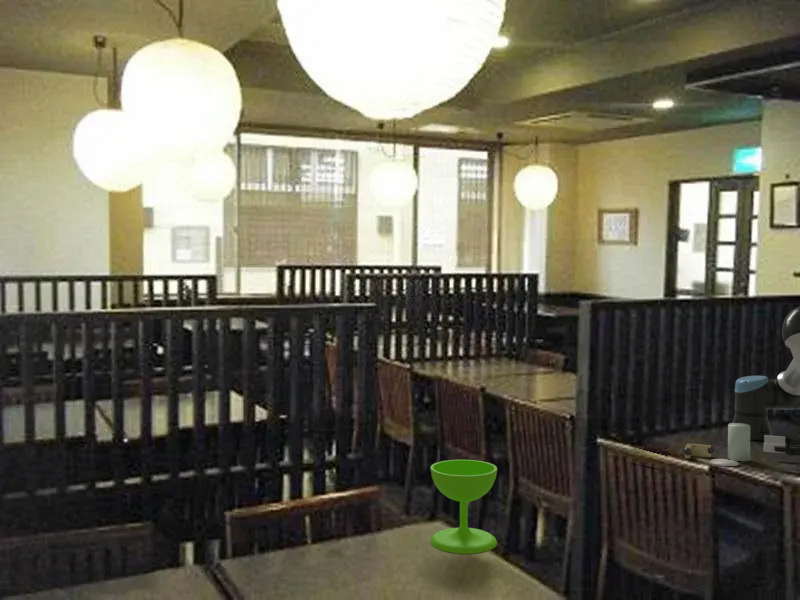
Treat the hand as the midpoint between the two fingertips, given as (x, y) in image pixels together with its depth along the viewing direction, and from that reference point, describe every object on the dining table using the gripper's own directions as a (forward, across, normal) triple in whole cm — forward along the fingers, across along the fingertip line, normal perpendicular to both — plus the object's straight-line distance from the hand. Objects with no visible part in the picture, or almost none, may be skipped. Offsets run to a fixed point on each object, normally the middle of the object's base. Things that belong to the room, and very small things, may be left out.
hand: (763, 443), depth 265 cm
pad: (+12, -8, -6) cm, 15 cm away
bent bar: (+20, -3, -7) cm, 21 cm away
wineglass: (+63, -116, -7) cm, 133 cm away
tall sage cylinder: (+8, 0, -6) cm, 10 cm away
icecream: (+35, -18, -7) cm, 40 cm away
